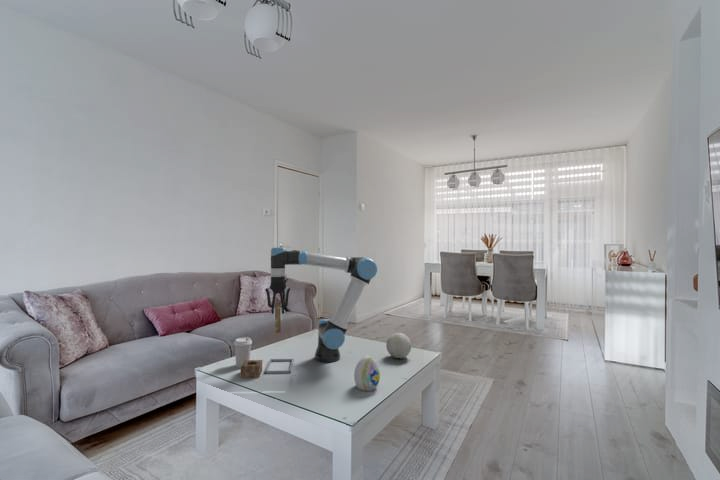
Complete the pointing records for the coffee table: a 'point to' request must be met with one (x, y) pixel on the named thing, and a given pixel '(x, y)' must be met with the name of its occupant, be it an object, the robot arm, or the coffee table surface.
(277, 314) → the dowel
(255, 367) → the cup block
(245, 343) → the coffee cup
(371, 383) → the decorative egg
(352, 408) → the coffee table surface
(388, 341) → the decorative sphere
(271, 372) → the gray rectangular frame
